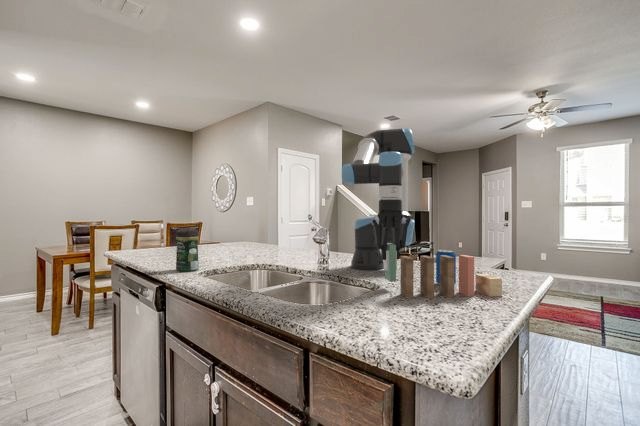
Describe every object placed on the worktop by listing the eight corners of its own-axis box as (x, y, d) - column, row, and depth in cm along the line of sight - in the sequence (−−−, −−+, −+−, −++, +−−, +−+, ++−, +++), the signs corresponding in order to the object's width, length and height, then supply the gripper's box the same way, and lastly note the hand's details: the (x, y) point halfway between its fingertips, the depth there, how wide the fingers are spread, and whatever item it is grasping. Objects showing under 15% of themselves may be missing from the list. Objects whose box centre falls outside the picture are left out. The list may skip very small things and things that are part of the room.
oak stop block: (475, 290, 102) (475, 274, 102) (486, 290, 103) (486, 273, 103) (489, 296, 95) (489, 278, 95) (501, 296, 96) (501, 278, 96)
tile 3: (420, 293, 99) (420, 255, 99) (426, 293, 99) (426, 255, 99) (427, 298, 94) (427, 258, 94) (434, 297, 94) (434, 257, 94)
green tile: (384, 278, 107) (384, 243, 107) (390, 277, 107) (390, 243, 107) (390, 281, 102) (390, 245, 102) (395, 281, 102) (395, 244, 102)
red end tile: (458, 292, 100) (458, 254, 100) (464, 292, 100) (464, 254, 100) (468, 296, 95) (468, 257, 95) (474, 296, 96) (474, 257, 95)
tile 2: (400, 294, 98) (400, 256, 98) (406, 294, 98) (406, 256, 98) (407, 298, 93) (407, 258, 93) (413, 298, 93) (413, 258, 93)
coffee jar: (172, 270, 137) (172, 228, 137) (189, 267, 144) (189, 227, 144) (184, 273, 132) (184, 229, 132) (201, 270, 138) (201, 228, 138)
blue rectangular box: (452, 282, 114) (452, 249, 114) (458, 286, 107) (458, 252, 107) (434, 282, 114) (434, 249, 114) (439, 286, 108) (439, 251, 108)
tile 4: (439, 292, 99) (439, 255, 99) (445, 292, 100) (445, 255, 100) (448, 297, 94) (448, 257, 94) (454, 297, 95) (454, 257, 95)
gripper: (371, 198, 99) (371, 272, 100) (416, 198, 101) (416, 270, 102) (365, 199, 107) (365, 267, 107) (407, 199, 109) (407, 266, 109)
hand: (390, 269), depth 105 cm, fingers closed on green tile, 2 cm apart
